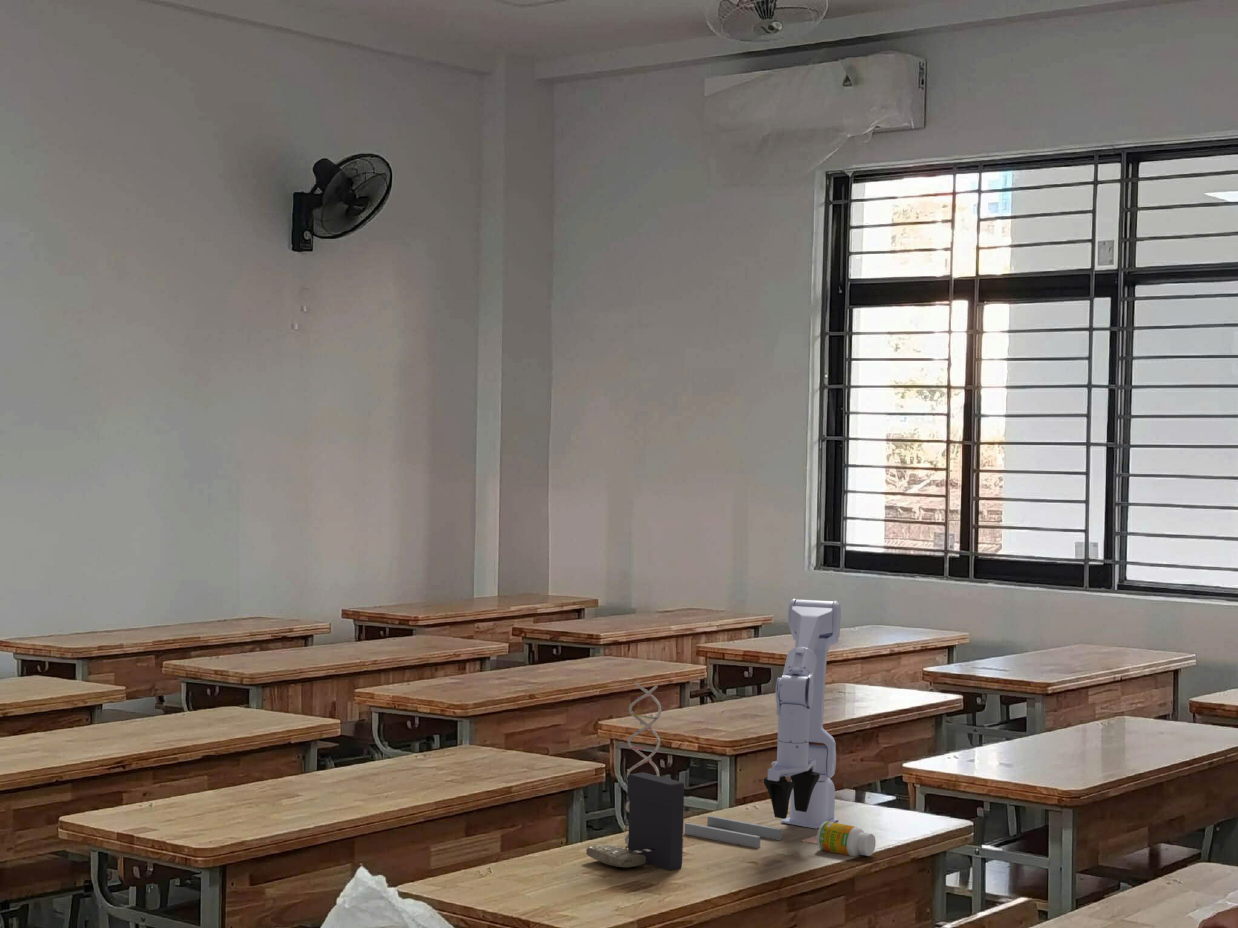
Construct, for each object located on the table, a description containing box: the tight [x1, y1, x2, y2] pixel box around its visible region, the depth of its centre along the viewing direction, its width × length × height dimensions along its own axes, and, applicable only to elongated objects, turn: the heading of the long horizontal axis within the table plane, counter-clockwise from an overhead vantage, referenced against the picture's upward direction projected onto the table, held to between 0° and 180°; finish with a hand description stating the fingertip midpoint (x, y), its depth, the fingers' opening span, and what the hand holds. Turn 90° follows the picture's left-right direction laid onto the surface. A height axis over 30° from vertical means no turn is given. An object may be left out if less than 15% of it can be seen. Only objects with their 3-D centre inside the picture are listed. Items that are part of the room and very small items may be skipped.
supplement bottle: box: [816, 821, 877, 857], centre depth 283 cm, size 5×5×10 cm
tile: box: [801, 834, 818, 845], centre depth 292 cm, size 10×10×1 cm
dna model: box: [624, 681, 662, 846], centre depth 283 cm, size 7×6×30 cm
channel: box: [684, 815, 783, 848], centre depth 294 cm, size 9×16×2 cm, turn 54°
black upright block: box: [626, 771, 685, 872], centre depth 273 cm, size 11×4×15 cm, turn 42°
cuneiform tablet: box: [586, 844, 656, 868], centre depth 270 cm, size 6×4×12 cm
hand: (790, 814), depth 286 cm, fingers open, 7 cm apart
